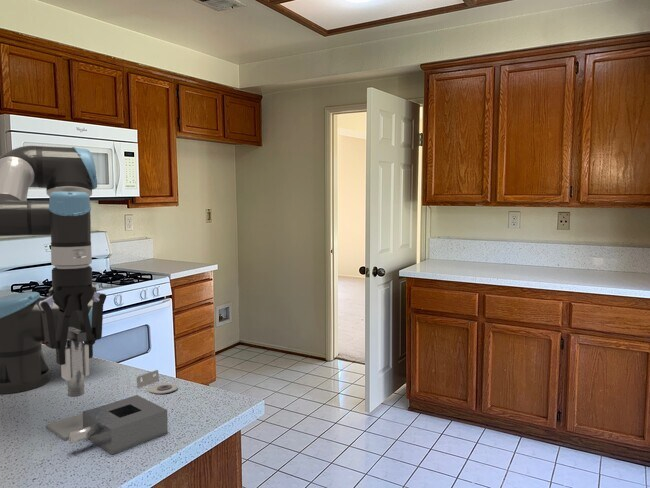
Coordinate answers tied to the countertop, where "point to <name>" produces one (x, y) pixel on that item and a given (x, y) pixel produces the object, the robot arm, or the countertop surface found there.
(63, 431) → the mat
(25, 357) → the robot arm
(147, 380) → the bracket
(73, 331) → the chuck key
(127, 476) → the countertop surface
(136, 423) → the block
